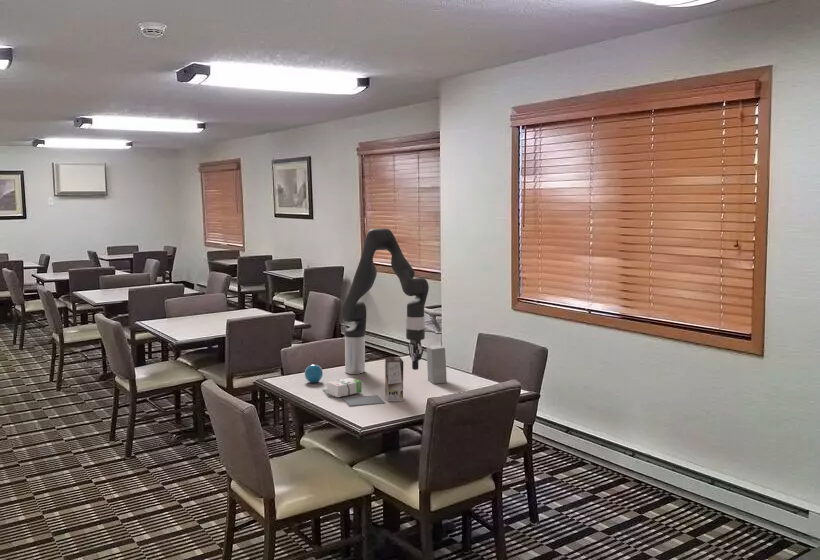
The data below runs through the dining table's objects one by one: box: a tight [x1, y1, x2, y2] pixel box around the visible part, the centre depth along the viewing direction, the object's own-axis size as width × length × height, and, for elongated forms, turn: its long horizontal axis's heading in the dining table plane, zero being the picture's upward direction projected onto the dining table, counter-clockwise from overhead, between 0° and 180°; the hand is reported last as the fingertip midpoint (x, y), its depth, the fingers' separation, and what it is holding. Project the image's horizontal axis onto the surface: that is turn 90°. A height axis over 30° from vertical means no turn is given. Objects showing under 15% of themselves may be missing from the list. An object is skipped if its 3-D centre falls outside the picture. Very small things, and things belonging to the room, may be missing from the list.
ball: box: [304, 364, 324, 384], centre depth 302 cm, size 8×8×8 cm
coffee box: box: [384, 356, 404, 402], centre depth 277 cm, size 9×6×16 cm
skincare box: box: [425, 344, 448, 385], centre depth 304 cm, size 8×7×16 cm
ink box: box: [326, 377, 363, 398], centre depth 284 cm, size 9×5×12 cm
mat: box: [322, 388, 386, 407], centre depth 280 cm, size 26×20×1 cm
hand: (415, 369), depth 280 cm, fingers closed
